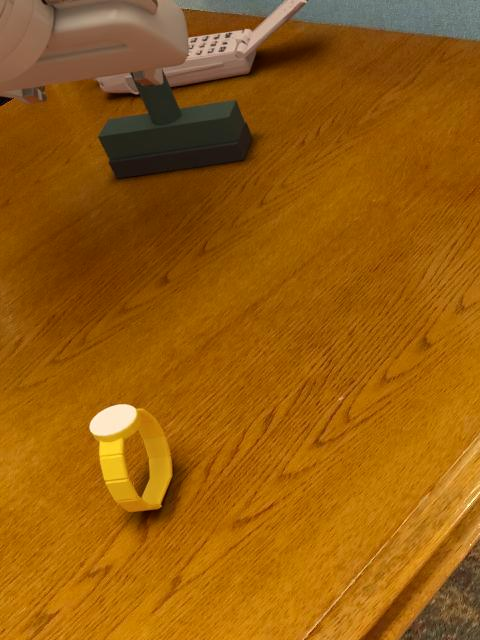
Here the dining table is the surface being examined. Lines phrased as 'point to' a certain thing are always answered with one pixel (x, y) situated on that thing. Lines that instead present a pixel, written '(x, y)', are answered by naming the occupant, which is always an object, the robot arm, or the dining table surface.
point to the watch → (111, 434)
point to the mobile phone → (214, 54)
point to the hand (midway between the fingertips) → (94, 84)
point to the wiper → (174, 135)
